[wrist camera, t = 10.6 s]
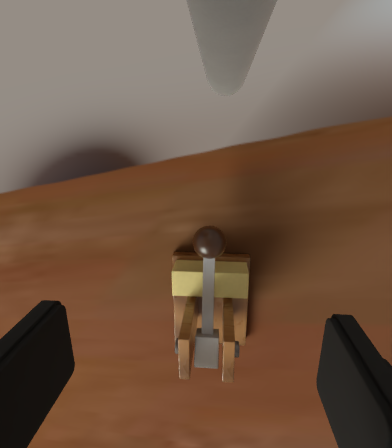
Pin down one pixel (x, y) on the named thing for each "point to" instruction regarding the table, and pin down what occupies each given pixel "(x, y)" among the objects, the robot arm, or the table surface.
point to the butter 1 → (187, 278)
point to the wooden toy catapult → (223, 320)
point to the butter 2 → (231, 280)
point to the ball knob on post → (208, 296)
